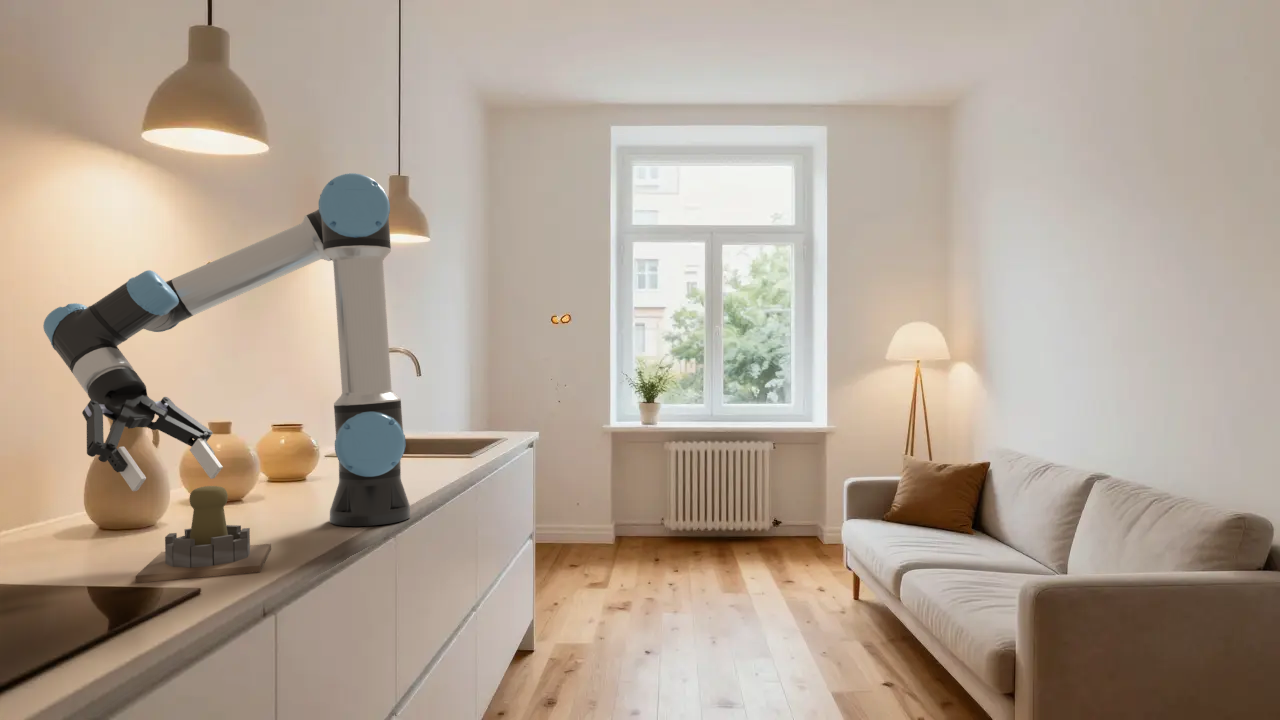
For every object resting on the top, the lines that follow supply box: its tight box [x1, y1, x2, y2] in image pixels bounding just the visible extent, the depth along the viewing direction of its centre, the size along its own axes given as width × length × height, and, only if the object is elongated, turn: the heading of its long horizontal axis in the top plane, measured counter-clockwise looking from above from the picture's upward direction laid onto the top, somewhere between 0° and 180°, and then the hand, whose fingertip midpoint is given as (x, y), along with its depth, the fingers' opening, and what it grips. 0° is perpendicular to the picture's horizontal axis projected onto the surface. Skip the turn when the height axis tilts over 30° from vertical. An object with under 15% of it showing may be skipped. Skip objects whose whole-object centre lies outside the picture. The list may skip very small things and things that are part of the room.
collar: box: [135, 524, 272, 584], centre depth 126 cm, size 16×16×5 cm
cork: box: [189, 485, 229, 545], centre depth 126 cm, size 6×6×11 cm
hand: (180, 478), depth 127 cm, fingers open, 13 cm apart
